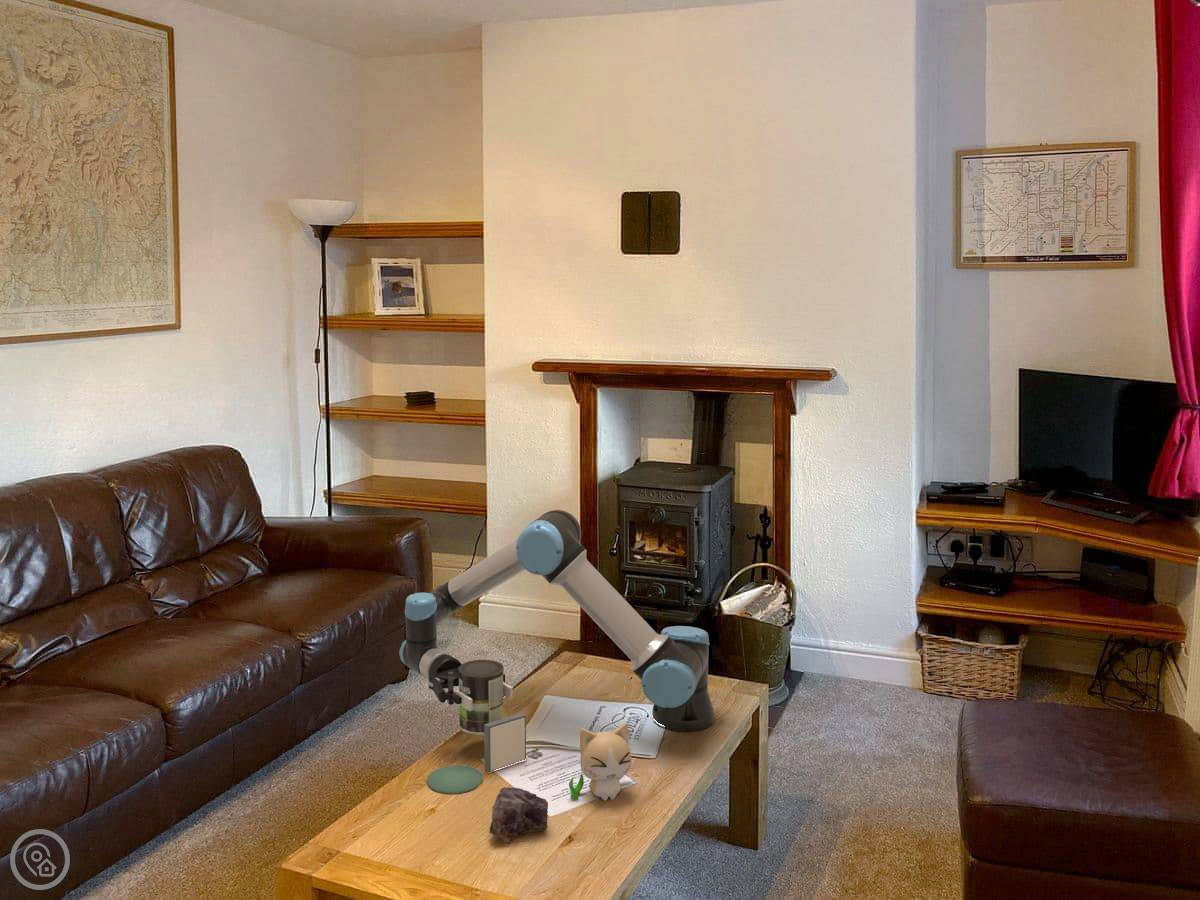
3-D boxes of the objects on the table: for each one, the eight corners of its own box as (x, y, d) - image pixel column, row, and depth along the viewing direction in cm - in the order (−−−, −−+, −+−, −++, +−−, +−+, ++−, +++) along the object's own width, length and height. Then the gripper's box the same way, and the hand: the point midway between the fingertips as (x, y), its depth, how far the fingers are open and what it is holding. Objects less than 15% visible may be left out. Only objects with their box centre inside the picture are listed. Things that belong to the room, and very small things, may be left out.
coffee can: (467, 738, 249) (466, 679, 247) (453, 720, 259) (452, 663, 256) (510, 730, 254) (510, 672, 251) (495, 713, 263) (494, 656, 260)
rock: (549, 843, 220) (533, 818, 229) (555, 803, 219) (539, 779, 228) (492, 846, 215) (478, 820, 225) (499, 805, 214) (484, 781, 223)
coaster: (494, 778, 244) (494, 775, 244) (455, 799, 234) (455, 797, 234) (454, 762, 251) (454, 760, 251) (415, 782, 241) (415, 780, 241)
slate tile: (484, 770, 247) (484, 724, 245) (522, 758, 253) (521, 712, 251) (489, 773, 246) (488, 727, 244) (526, 761, 252) (526, 715, 250)
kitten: (575, 810, 230) (575, 742, 228) (563, 787, 240) (563, 722, 237) (644, 800, 235) (644, 733, 232) (629, 778, 244) (630, 714, 241)
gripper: (482, 672, 276) (533, 702, 259) (399, 695, 262) (448, 727, 245) (481, 643, 275) (532, 671, 257) (399, 664, 261) (447, 695, 244)
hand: (491, 699), depth 251 cm, fingers closed on coffee can, 10 cm apart
